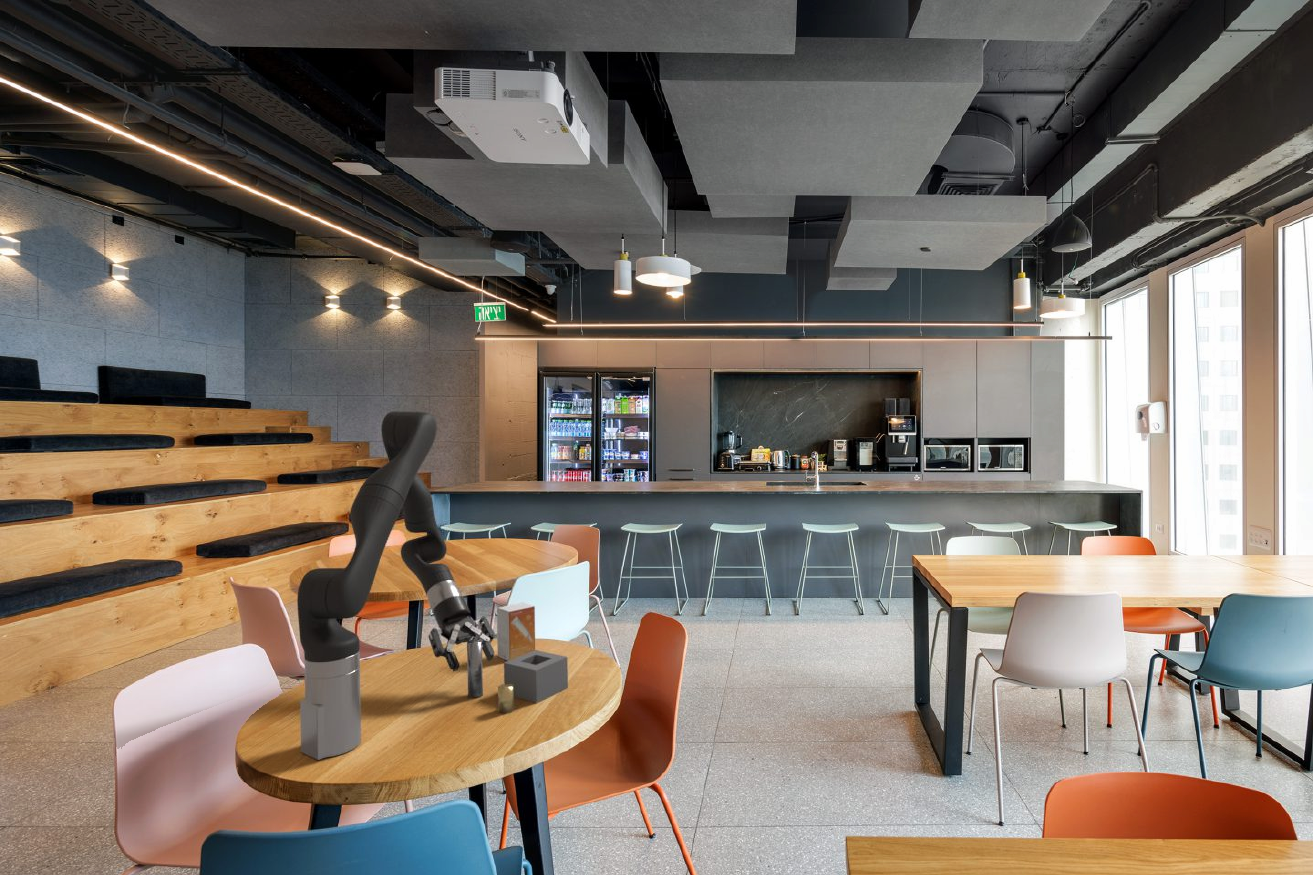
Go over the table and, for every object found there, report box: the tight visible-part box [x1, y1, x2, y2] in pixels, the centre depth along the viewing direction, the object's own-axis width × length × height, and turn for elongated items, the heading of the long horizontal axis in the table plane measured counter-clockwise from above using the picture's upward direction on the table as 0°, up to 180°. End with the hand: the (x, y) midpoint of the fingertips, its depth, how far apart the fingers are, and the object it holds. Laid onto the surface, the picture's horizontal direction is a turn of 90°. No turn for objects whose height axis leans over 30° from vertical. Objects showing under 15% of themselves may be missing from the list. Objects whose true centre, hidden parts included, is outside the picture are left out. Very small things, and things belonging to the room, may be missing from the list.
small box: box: [496, 602, 536, 662], centre depth 167 cm, size 8×6×13 cm
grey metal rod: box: [466, 640, 484, 699], centre depth 140 cm, size 3×3×12 cm
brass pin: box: [497, 683, 515, 715], centre depth 132 cm, size 3×3×5 cm
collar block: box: [503, 649, 569, 704], centre depth 142 cm, size 10×10×7 cm
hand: (474, 663), depth 141 cm, fingers open, 8 cm apart
